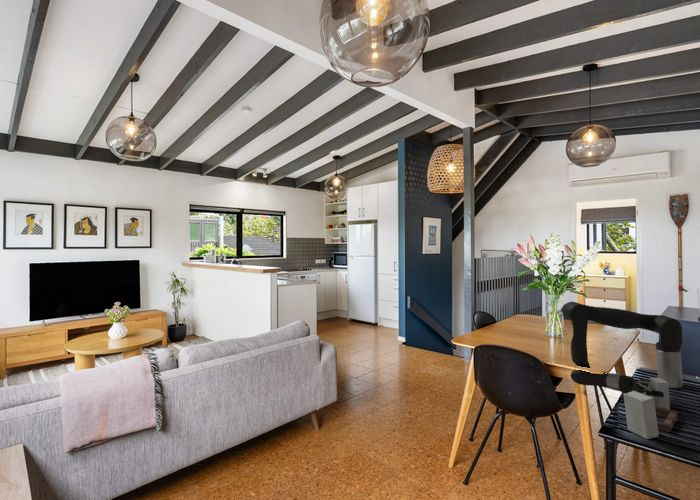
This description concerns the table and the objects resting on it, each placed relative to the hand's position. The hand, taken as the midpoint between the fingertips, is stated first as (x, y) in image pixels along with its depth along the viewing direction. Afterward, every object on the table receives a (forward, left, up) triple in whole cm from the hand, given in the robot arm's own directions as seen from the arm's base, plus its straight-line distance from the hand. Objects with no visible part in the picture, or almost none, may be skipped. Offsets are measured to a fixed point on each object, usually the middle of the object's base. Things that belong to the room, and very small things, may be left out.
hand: (665, 391), depth 163 cm
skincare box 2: (0, -2, -7) cm, 8 cm away
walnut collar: (+14, -2, -7) cm, 16 cm away
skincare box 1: (+28, -2, -7) cm, 29 cm away
